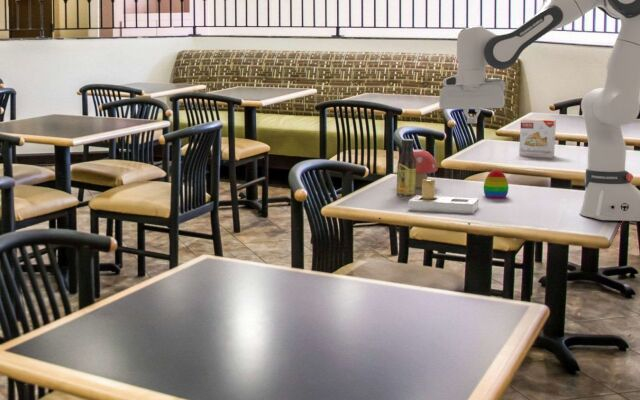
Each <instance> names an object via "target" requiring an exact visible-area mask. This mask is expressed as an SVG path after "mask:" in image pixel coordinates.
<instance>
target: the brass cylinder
mask: <svg viewBox="0 0 640 400" xmlns="http://www.w3.org/2000/svg"><path fill="white" fill-rule="evenodd" d="M435 186H436V179H433V178H432V179H431V178H427V179H423V180H422V188H421V195H422V200H434V196H436V195H435V194H436V193H435V189H436V187H435Z"/></svg>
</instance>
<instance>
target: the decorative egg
mask: <svg viewBox="0 0 640 400" xmlns="http://www.w3.org/2000/svg"><path fill="white" fill-rule="evenodd" d="M483 193H484V196H485V197H486V198H489V199H496V200H497V199H506V197H507V196H508V193H509V182H508V178H507V177H506V174H505V173H504V172H503V171H502V170H500V169H493V170H491V171H490V172H489V173H488V174H487V176H486V177H485V180H484V182H483Z"/></svg>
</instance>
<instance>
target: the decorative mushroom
mask: <svg viewBox="0 0 640 400" xmlns="http://www.w3.org/2000/svg"><path fill="white" fill-rule="evenodd" d="M413 155H414V157H415V159H416V179H415V189H422V180H423V179H428V174H432V173H435V172H437V171H438V164H437V160H436V159H435V157H434V155H432V154H431V153H430V152H429V151H426V150H425V149H418V148H417V149H413Z"/></svg>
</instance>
